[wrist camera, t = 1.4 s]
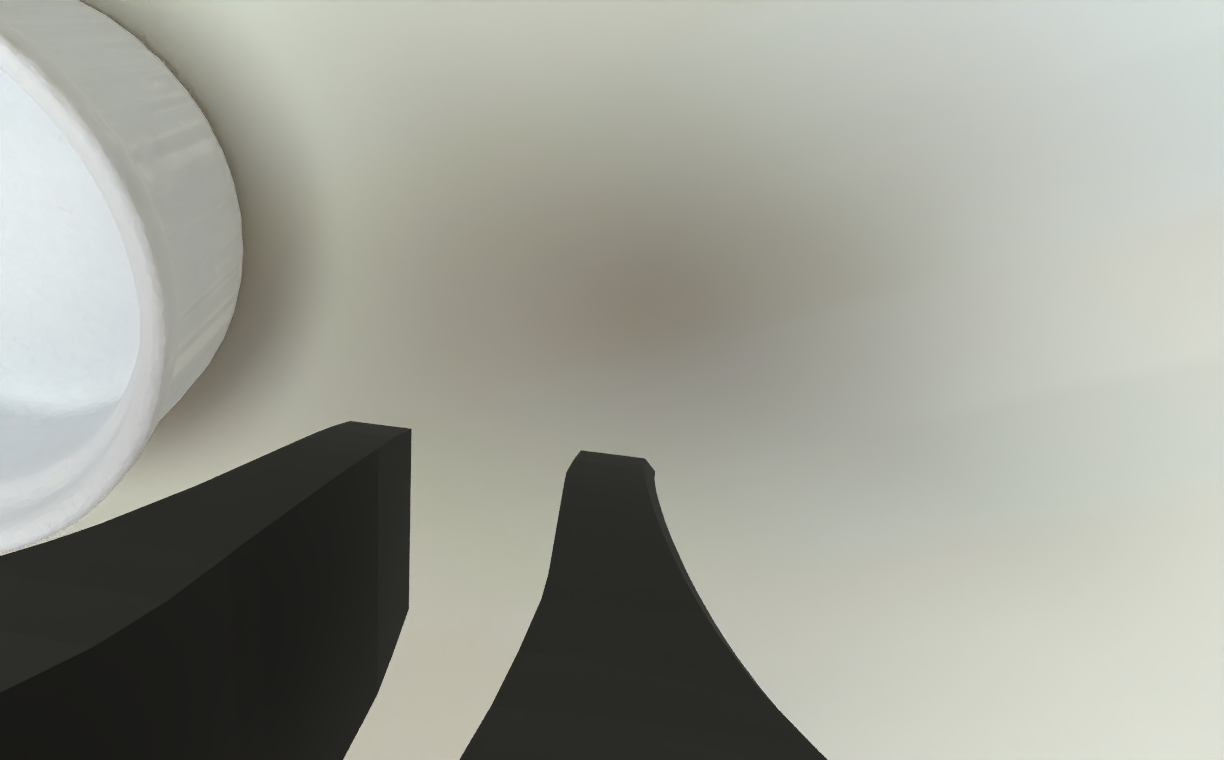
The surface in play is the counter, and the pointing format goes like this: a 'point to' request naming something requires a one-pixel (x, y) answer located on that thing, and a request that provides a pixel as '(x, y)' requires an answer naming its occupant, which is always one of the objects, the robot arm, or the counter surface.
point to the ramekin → (99, 257)
